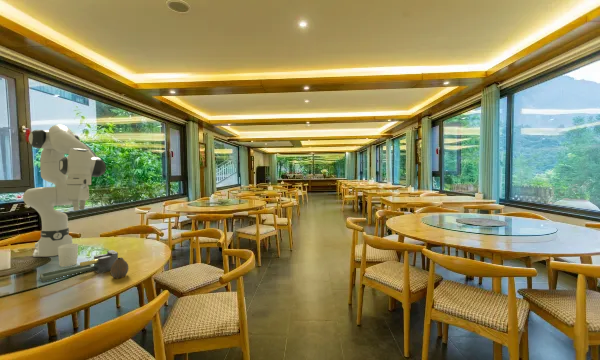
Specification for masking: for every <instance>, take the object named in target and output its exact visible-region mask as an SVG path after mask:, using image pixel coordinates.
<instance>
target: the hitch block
mask: <svg viewBox="0 0 600 360" xmlns="http://www.w3.org/2000/svg"><path fill="white" fill-rule="evenodd" d="M106 252H107V253H103V254H98V255H93V260H95V259H97V263H96V264H93V266H94V270H93V271H95V272H96V273H97V274H103V273H106V272H111V266H112V265H113V263H114V262H115V261H116V259H117V258H119V253H118V252H117V251H115V250H114V249H110V250H107V251H106Z"/></svg>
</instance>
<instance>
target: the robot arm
mask: <svg viewBox="0 0 600 360" xmlns="http://www.w3.org/2000/svg"><path fill="white" fill-rule="evenodd" d="M28 142H29V143H30V146H32V148H36V149H42V150H41V154H40V157H39V159H40V160H39V163H40V164H39V165H40V167H39V169H40V177H41V178H42V180H43V181H45V182H49V183H51V184H53V185H54V186H44V187H42V186H41V187H34V188H28V189H27V190H25V191H24V192H23V196H22V200H23V202H24V203H25V204H26V205H27V206H28V207H30V208H32V209H34V210H35V211H36V212H37V213H38V215H39V217H40V220H41V230H40V238H39V240H38V241H37V242H35V243H34V247H35V249H34V251H33V253H32V257H33V258H36V257H37V258H38V257H54V256H59V255H58V246H61V245H65V244H73V236H71V235H69V234H70V229H69V222H68V221H69V217H68V214H67V213H65V212H62V211H60V210H57V209H55V208H54V207H56V206H68V205H69V206H70V205H72V207H73V209H72V210H73V211H74V212H75V211H79V210H85V207H86V201H88V200H89V199H90V187H89V186H91V185H92V177H94V178H99V177H101V176H103V175H104V174H105V173H106V170H107V168H106V167H107V166H106V163H105V161H104V160H102V159H101V158H100V157H99V156H98V155H97V154H96V153H95V152H94V151H93V150H92V149H91V147H90V146H89V145H88V144H86V143H84V142H82V141H80V137H79V136H78V135H77V134H75V133H73V132H72V130H71V129H70V128H69V127H67V126H65V125H63V124H55V125H52V126H50V127H49V129H48V130H44V129H35V130H32V131H31V132H30V133H29V136H28ZM65 155H67V156H65Z"/></svg>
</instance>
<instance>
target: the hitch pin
mask: <svg viewBox="0 0 600 360" xmlns="http://www.w3.org/2000/svg"><path fill="white" fill-rule="evenodd" d="M96 263H97V259H95V260H94V259H91V260H86V261H82V262H79V265H80V267H83V266H87V265H94V264H96Z"/></svg>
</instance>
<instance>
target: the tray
mask: <svg viewBox="0 0 600 360" xmlns="http://www.w3.org/2000/svg"><path fill="white" fill-rule="evenodd" d="M92 270H93V271H95V270H94V264H92V265H87V266H83V267H80V264H78V265H73V266H68V267H66V268H65V267H64V268H62V269H61V268H60V269H56V270H51V271H46V272H41V273H39V275H38V276H39V280H40V279H41V280H40V281H41V283H44V282H43V281H46V282H48V281H47V280H50V281H53V280H52V279H54V280H57V279H56V278H59V279H61V278H60V277H63V276H67V275H71V276H73V275H72V274H76V273H80V272H84V273H87V272H86V271H89V272H92ZM80 274H81V273H80ZM76 275H77V274H76ZM67 277H68V276H67ZM63 278H64V277H63Z"/></svg>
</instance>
